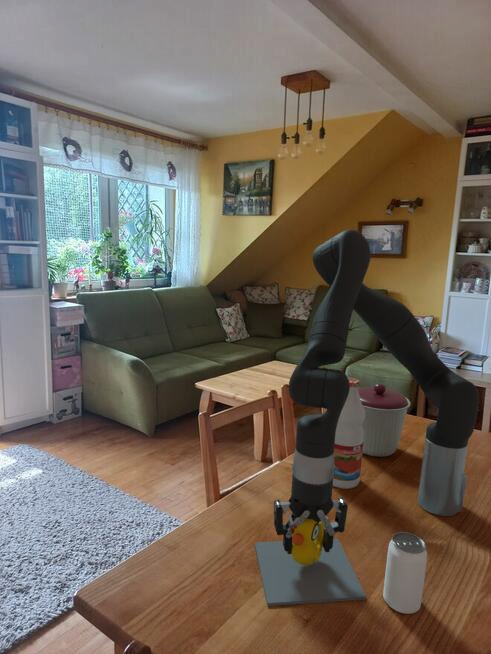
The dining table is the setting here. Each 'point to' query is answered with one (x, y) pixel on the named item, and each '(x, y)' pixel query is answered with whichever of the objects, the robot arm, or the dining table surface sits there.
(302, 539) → the duckling
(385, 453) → the canister
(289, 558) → the mat
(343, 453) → the fruit juice
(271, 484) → the dining table surface
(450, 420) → the robot arm
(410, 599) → the can
